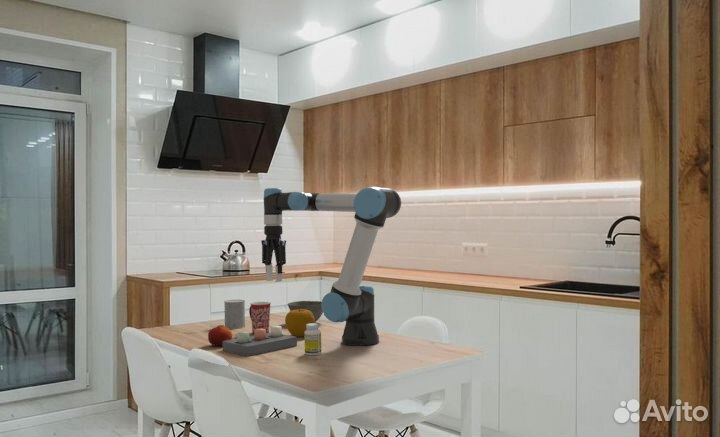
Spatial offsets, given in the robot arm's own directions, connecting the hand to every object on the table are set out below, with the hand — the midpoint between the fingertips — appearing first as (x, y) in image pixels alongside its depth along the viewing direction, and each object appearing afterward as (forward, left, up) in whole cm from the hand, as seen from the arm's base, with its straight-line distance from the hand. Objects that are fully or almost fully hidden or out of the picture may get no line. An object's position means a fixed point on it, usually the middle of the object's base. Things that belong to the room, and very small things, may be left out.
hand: (274, 281), depth 252 cm
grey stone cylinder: (+41, -9, -25) cm, 49 cm away
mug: (+20, -7, -25) cm, 33 cm away
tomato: (+10, +20, -25) cm, 34 cm away
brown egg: (-7, +13, -22) cm, 26 cm away
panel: (-7, +13, -25) cm, 29 cm away
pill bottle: (-31, +7, -25) cm, 40 cm away
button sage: (-7, +21, -22) cm, 31 cm away
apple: (0, -14, -25) cm, 29 cm away
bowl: (+21, -37, -25) cm, 49 cm away
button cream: (-7, +5, -22) cm, 23 cm away
